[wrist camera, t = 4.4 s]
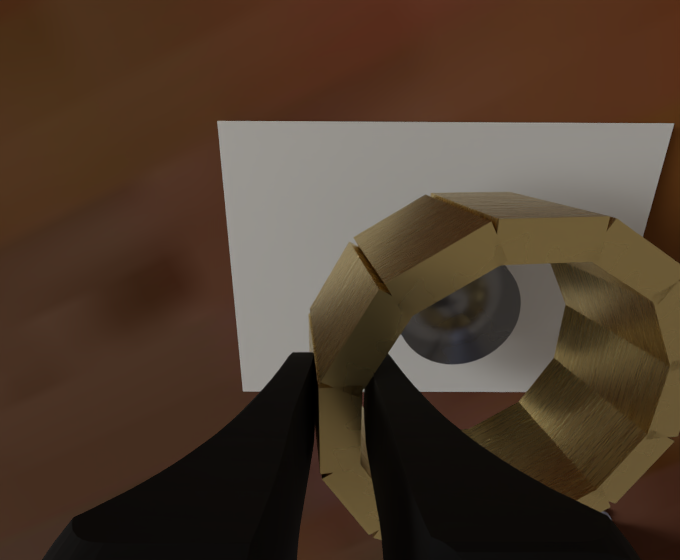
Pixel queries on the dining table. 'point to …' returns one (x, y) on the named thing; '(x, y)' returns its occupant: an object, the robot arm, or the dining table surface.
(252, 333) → the piston stand
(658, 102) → the dining table surface
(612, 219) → the brass ring
